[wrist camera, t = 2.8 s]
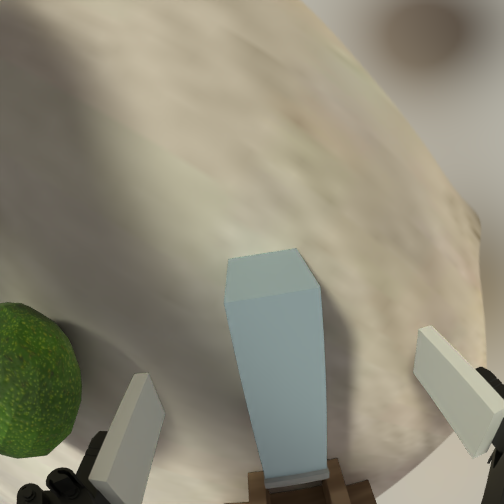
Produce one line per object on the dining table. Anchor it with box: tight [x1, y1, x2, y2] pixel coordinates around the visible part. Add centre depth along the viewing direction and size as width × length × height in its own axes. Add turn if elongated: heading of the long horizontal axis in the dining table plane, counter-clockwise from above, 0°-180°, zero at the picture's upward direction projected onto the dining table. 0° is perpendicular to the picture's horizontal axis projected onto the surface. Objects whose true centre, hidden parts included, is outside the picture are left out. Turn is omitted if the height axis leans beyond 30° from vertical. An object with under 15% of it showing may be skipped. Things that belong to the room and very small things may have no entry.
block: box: [224, 248, 329, 489], centre depth 18 cm, size 14×4×6 cm, turn 9°
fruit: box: [0, 302, 82, 459], centre depth 16 cm, size 15×10×10 cm, turn 138°
